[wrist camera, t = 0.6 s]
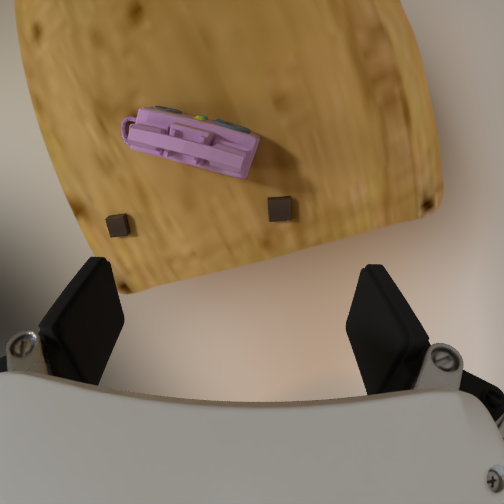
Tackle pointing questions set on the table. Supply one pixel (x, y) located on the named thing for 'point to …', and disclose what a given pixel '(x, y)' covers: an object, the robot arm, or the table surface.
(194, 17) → the table surface
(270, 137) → the table surface
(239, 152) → the toy telephone
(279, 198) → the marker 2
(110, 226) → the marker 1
